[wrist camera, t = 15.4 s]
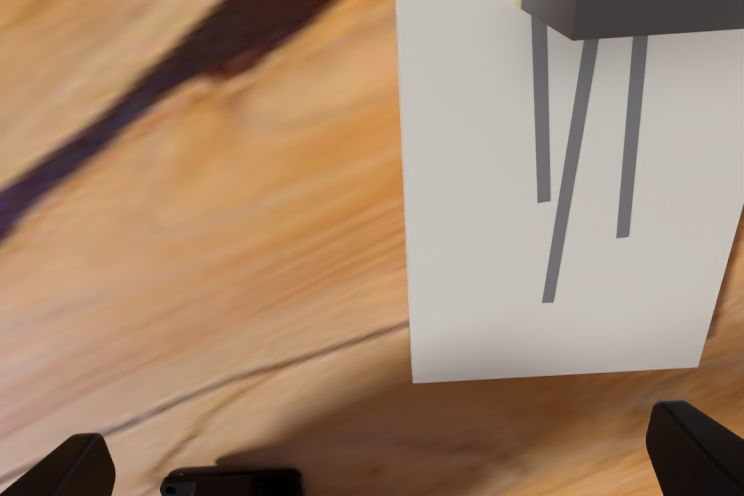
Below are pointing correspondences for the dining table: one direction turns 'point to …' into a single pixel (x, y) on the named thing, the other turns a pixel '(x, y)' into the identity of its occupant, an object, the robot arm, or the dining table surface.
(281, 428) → the dining table surface
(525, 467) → the dining table surface
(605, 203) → the board
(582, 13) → the block
